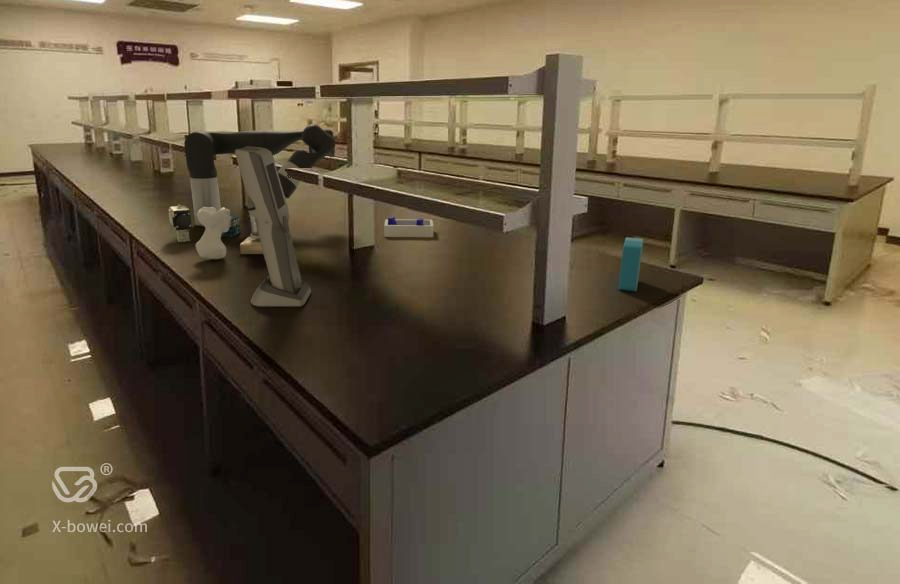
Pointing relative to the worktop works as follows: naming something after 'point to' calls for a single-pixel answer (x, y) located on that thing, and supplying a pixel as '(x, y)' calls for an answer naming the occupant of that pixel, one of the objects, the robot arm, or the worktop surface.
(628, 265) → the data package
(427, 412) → the worktop surface
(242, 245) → the stand
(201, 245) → the white lobed block
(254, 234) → the housing
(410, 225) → the clip tray
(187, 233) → the pneumatic valve
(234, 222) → the puzzle
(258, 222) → the thermal camera
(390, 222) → the cable clip
